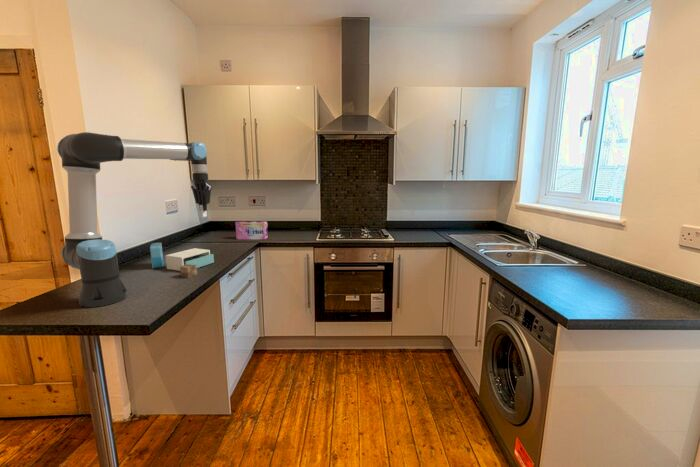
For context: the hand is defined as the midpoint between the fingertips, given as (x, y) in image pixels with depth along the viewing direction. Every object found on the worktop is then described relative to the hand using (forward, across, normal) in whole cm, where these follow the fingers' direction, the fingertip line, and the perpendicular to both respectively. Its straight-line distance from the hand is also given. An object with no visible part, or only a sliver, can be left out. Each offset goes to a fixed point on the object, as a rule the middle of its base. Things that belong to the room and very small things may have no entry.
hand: (203, 216), depth 170 cm
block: (+26, -9, +20) cm, 34 cm away
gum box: (+27, +25, -67) cm, 77 cm away
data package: (+20, +17, +18) cm, 32 cm away
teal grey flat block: (+26, +4, +7) cm, 27 cm away
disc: (+25, +4, +7) cm, 26 cm away
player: (+26, +6, +7) cm, 28 cm away
